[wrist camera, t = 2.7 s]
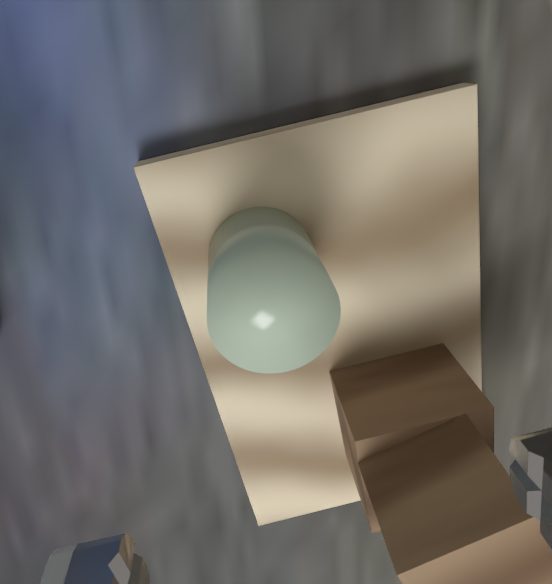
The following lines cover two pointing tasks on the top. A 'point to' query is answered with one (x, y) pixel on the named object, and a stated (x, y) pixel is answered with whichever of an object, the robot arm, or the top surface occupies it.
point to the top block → (453, 511)
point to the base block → (403, 405)
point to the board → (333, 267)
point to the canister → (268, 293)
